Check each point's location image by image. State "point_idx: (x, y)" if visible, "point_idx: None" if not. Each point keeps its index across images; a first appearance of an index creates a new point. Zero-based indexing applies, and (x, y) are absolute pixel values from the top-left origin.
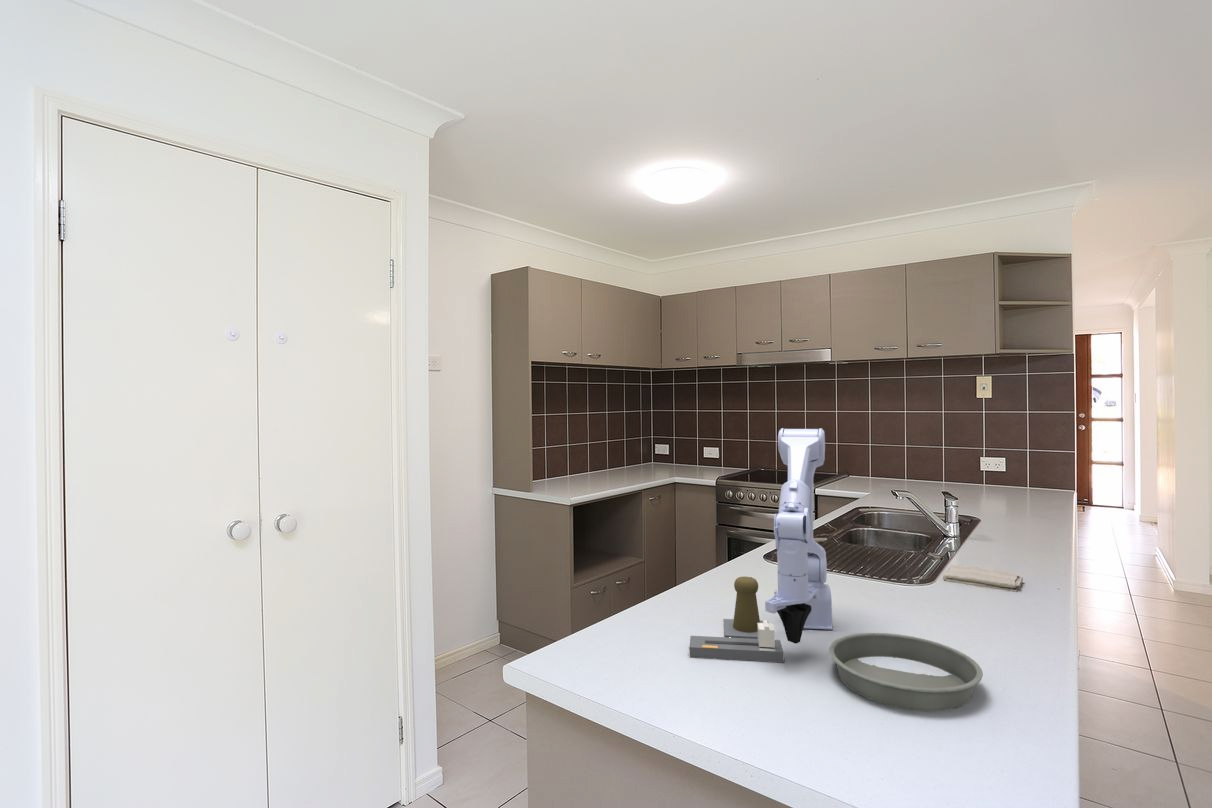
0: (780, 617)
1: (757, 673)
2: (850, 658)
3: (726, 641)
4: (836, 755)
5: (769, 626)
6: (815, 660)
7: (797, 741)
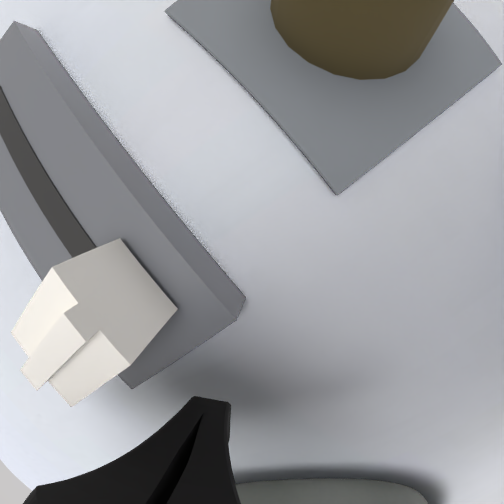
0: (99, 470)
1: None
2: (343, 483)
3: (25, 140)
4: (34, 475)
5: (77, 366)
6: (261, 431)
7: (8, 442)
